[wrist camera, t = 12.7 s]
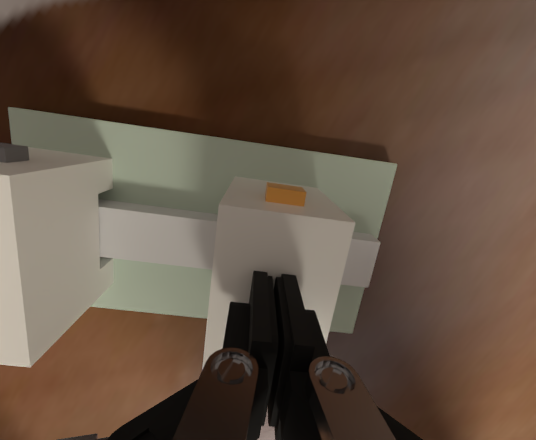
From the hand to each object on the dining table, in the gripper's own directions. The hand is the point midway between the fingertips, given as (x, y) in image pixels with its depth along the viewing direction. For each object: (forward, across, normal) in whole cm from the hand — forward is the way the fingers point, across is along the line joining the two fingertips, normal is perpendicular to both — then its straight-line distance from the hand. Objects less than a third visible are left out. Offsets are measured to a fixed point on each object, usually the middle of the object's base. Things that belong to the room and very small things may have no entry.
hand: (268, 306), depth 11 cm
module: (+7, 0, 0) cm, 7 cm away
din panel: (+8, +4, 0) cm, 9 cm away
